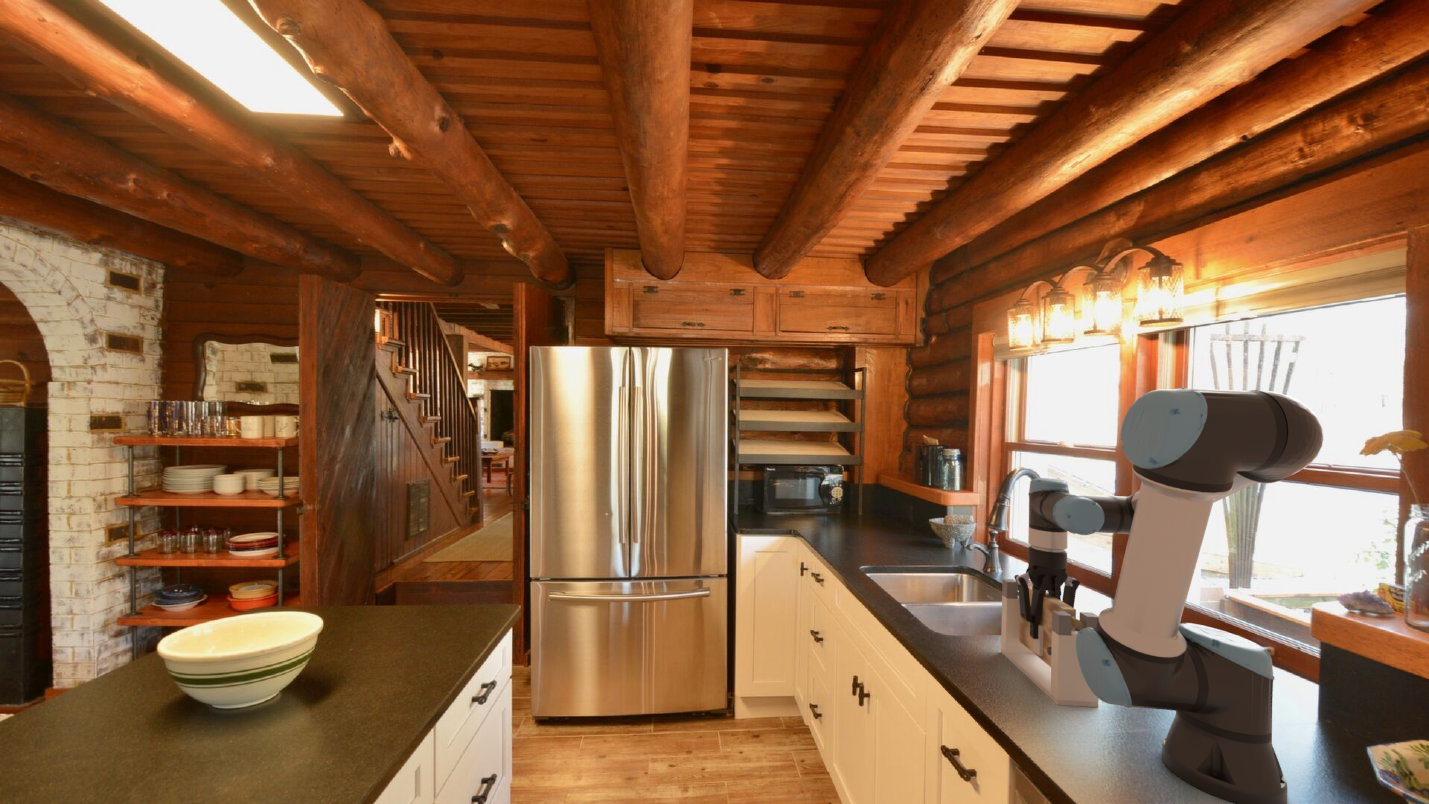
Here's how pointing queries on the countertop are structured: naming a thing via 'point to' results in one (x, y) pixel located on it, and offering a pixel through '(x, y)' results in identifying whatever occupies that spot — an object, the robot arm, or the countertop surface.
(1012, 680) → the countertop surface
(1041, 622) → the oak door
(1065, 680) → the cabinet frame
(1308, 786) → the countertop surface
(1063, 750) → the countertop surface
